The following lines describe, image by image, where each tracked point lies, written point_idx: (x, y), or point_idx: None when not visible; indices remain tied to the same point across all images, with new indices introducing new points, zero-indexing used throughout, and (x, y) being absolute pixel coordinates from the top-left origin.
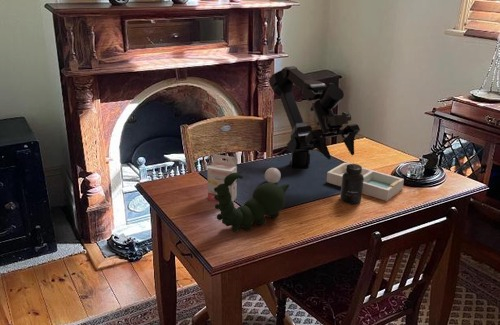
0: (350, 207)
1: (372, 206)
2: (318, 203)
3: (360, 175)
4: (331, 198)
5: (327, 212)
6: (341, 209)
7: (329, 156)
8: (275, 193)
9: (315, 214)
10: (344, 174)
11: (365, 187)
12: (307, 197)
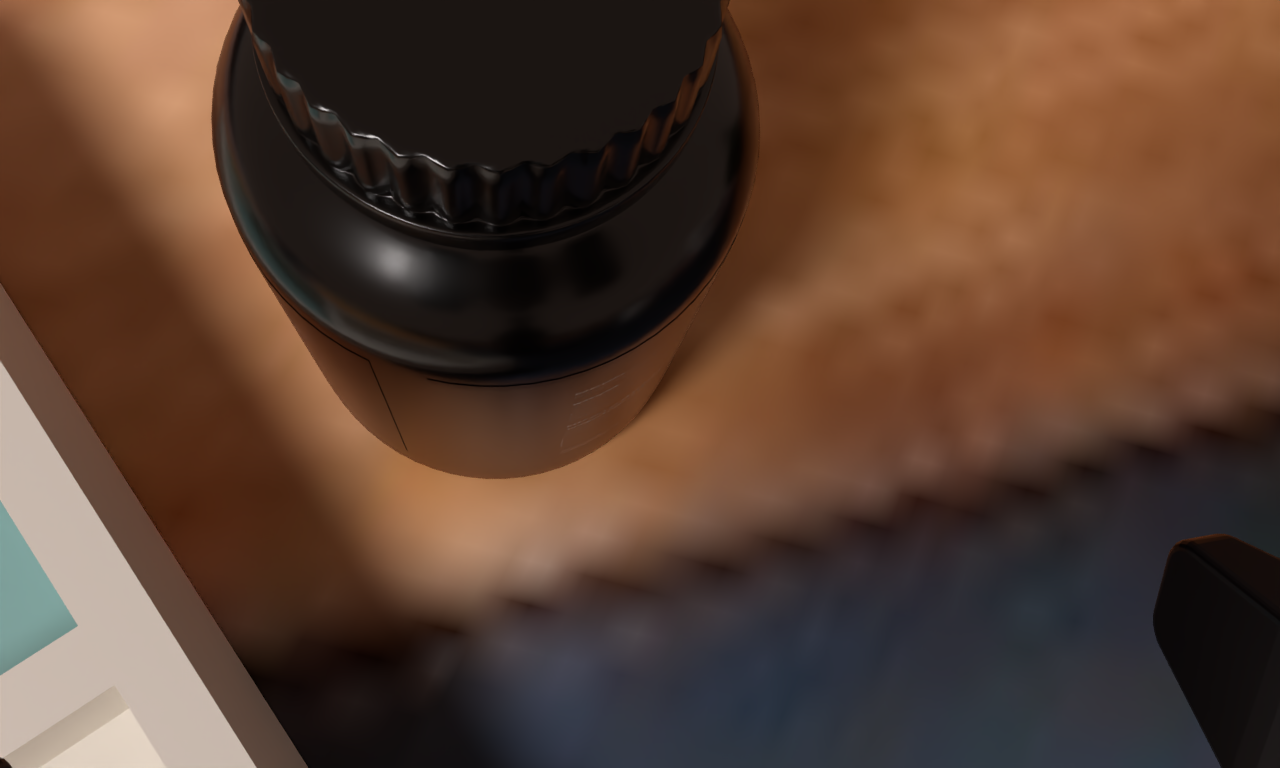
0: None
1: None
2: (1053, 347)
3: None
4: (785, 458)
5: (1013, 51)
6: (779, 71)
7: (1274, 566)
8: None
9: (1194, 49)
10: (721, 155)
11: (67, 433)
12: None
